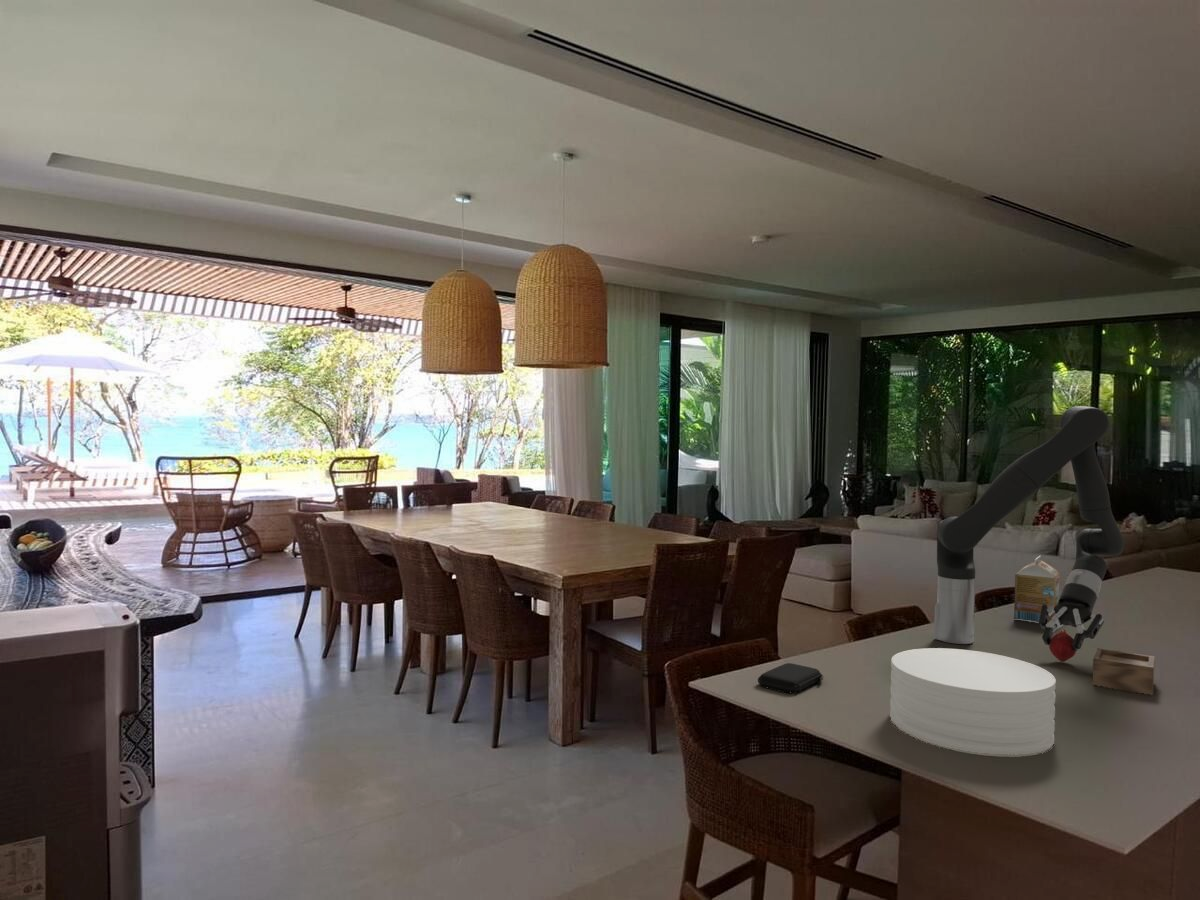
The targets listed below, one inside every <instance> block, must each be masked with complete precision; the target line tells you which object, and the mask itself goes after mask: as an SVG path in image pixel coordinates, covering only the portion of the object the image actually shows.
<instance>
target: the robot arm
mask: <svg viewBox="0 0 1200 900" xmlns="http://www.w3.org/2000/svg"><path fill="white" fill-rule="evenodd" d="M1109 424H1110V421H1109V417H1108V415H1107V413H1106V412H1105V411H1103V410H1102V409H1100V408H1097V407H1093V406H1086V405H1085V406H1084V405H1076V406H1072V407H1068V409H1067V408H1066V410H1065V411H1063V413H1062V415H1061V416H1060V419H1059V428H1060V430H1059V431H1057V432H1056V433H1055V435H1054V436H1052V437H1051V438H1050V439H1048V440H1047V441H1046V442H1044V443H1042V444H1041V445H1039V446H1037V447H1036V448H1034V449H1032V450H1030V451H1028V452H1027V453H1025V454H1023V455H1022V456H1019V457H1018V458H1017V459H1015V460H1014V461H1013V462H1012V463H1010V464H1009V465H1008V466H1007V467H1006V468H1005V469H1003V470H1002V472H1000V473H999V474H998V475H997V476H996V477H995V478H994V479H993V480H992V482H991V484H990V485H989V486H988V487H986V488H987V489H986V490H985V491H984V492H983V494H981V497H980V498H979V499H978V500H977V501H976V502H975V503H973V504H972V506H970V507H969V508H968V509H967V510H965V511H964V512H962V513H961V514H960V515H958V516H950V517H947V518H944V520H942V521H941V523H940V524H939V525H938V528H937V533H936V564H937V590H936V591H937V594H936V595H937V597H936V598H937V599H936V600H937V601H936V603H935V604H934V626H933V627H934V634H933V635H934V636H933V639H934V640H938V641H941V642H944V643H949V644H954V645H955V644H957V645H968V644H969V645H970V644H973V643H974V640H975V639H974V637H975V634H974V633H975V599H976V598H975V596H976V593H975V592H976V591H975V590H976V567H975V562H974V561H975V559H974V548H975V547H976V546H977V545H978V544H979V543H980V541H981V540H983V538H984V537H985V536H986V535H987V534H988V533H989V532H990V531H991V530H992V529H993V527H995V525H997V524H998V523H999V522H1000V521H1001V520H1003V519H1004V518H1005V517H1006V516H1008V515H1009V514H1010V513H1012V512H1014V511H1015V510H1016V509H1017V508H1018V507H1020V506H1021V505H1022V504H1023V503H1024V502H1026V501H1027V500H1028V499H1029V498H1031V497H1032V496H1033V495H1034V494H1035V493H1037V492H1038V491H1039V490H1040V489H1041V488H1043V486H1044V485H1045V484H1047V483H1048V481H1049V480H1051V479H1052V478H1053V477H1054V476H1055V475H1057V473H1059V472H1060V471H1061V470H1062V469H1063V468H1064V467H1065V466H1066V465H1067V464H1069V462H1070V463H1071V467H1072V471H1073V475H1074V480H1075V481H1074V482H1075V488H1076V495H1077V501H1078V508H1079V515H1080V517H1081V519H1082V520H1083V521H1086V522H1090V523H1094V524H1096V525H1098V527H1099V528H1084V529H1082V530H1081V531H1079V532H1078V534H1077V535H1076V540H1075V545H1076V546H1075V547H1076V549H1075V550H1076V552H1075V562H1074V564H1073V566H1072V569H1071V572H1070V574H1069V575H1068V577H1067V578H1066V581H1065V584H1064V586H1063V589H1062V592H1061V594H1060V595H1059V602H1058V604H1057V605H1056V606H1055V607H1047V605H1042V608H1041V614H1040V619H1039V623H1040V624H1039V625H1040V627H1041V629H1042V630H1044V632H1043V634H1042V637H1041V638H1042V640H1043V642H1044V644H1045V645H1046V646H1049V644H1050V640H1051V639H1052V637H1053V636H1054V632H1056V631H1057V630H1058V629H1061V628H1062V627H1063V626H1070V627H1073V628H1076V629H1077V632H1076V633H1075V635H1074V637H1073V639H1074V640H1073V643H1072V648H1073V650H1074V651H1076V652H1077V651H1078V650H1081V648H1082V646H1083V643H1084V641H1085V640H1086V639H1091V640H1093V639H1095V638H1096V636H1097V635H1098V633H1099V631H1100V629H1101V628H1102V627H1103V625H1104V623H1105V621H1104V618H1103V616H1102V614H1101V613H1096V614H1094V613H1093V610H1094V608H1095V605H1096V602H1097V600H1098V597H1099V596H1100V591H1101V588H1102V583H1103V580H1104V577H1105V576H1106V572H1107V570H1108V567H1107V565H1108V564H1107V563H1106V561H1105V560H1104V559H1103V558H1102V557H1117V556H1119V555H1121V554H1122V552H1123V551H1124V548H1125V538H1124V536H1123V534H1122V532H1121V530H1120V528H1119V526H1118V524H1117V521H1116V519H1115V516H1114V515H1113V511H1112V507H1111V505H1112V504H1111V500H1110V499H1111V498H1110V493H1109V490H1108V489H1109V488H1108V484H1107V482H1106V479H1105V476H1104V473H1103V471H1102V469H1101V467H1100V464H1099V463H1100V462H1099V460H1098V457H1097V451H1096V443H1097V442H1099V440H1100V439H1102V438H1103V437H1104V436H1105V434H1106V433H1107V432H1108V429H1109V426H1110V425H1109ZM1054 612H1055V613H1056V614H1055V615H1054V616H1053V617H1052V619H1051V621H1049V622H1048V619H1049V616H1051V615H1052V613H1054ZM1088 621H1091V622H1090V625H1089V626H1088V627H1087V629H1085V626H1084V624H1086V623H1087V622H1088Z"/></svg>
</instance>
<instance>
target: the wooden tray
mask: <svg viewBox="0 0 1200 900" xmlns="http://www.w3.org/2000/svg"><path fill="white" fill-rule="evenodd" d="M1155 658H1156V657H1155V656H1154V655H1146V654H1140V653H1134V652H1133V653H1132V652H1126V651H1125V652H1124V651H1120V650H1112V649H1105V648H1098V647H1097V648H1096V651H1095V654H1094V655H1093V659H1092V662H1093V663H1092V686H1094V685H1097V686H1096V687H1100V686H1103V687H1102V688H1106V687H1107V689H1112V688H1113V690H1118V689H1119V691H1124V690H1125V692H1130V691H1131V692H1132V693H1136V692H1138V693H1137V694H1141V693H1144V694H1143V695H1147V694H1150V695H1149V696H1153V695H1154V687H1153V686H1154V685H1155V664H1156V663H1155Z"/></svg>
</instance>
